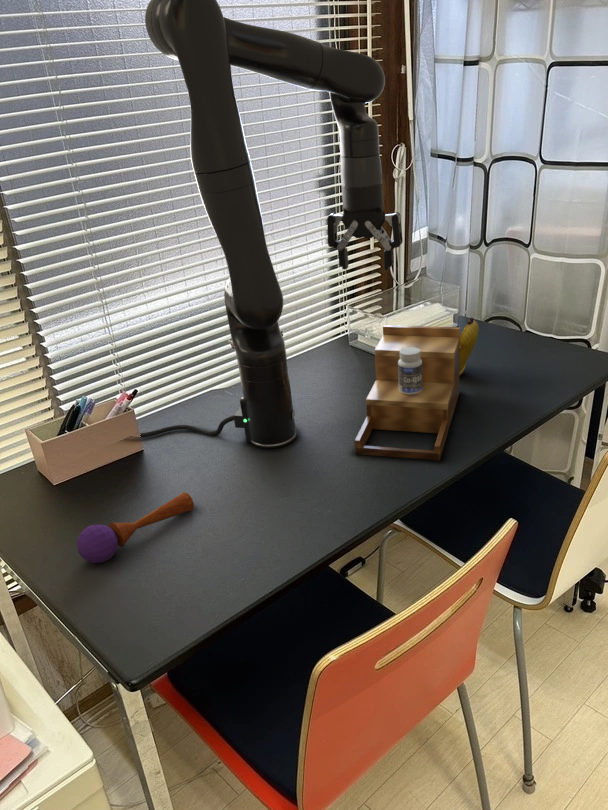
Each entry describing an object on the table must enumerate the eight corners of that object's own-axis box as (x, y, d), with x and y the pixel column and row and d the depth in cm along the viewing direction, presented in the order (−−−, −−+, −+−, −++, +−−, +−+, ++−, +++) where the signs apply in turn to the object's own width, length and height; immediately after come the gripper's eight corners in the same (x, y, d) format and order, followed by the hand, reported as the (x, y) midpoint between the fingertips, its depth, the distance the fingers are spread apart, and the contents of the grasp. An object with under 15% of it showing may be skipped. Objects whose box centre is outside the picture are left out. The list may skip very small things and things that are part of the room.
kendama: (198, 496, 118) (88, 548, 105) (198, 523, 121) (92, 576, 108) (177, 478, 121) (67, 527, 108) (177, 505, 124) (71, 555, 111)
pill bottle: (403, 397, 138) (402, 357, 133) (395, 387, 142) (394, 348, 137) (426, 392, 139) (425, 353, 134) (417, 383, 143) (417, 344, 138)
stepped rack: (355, 454, 134) (350, 382, 126) (386, 389, 156) (383, 325, 148) (439, 460, 130) (439, 386, 122) (459, 393, 152) (460, 327, 144)
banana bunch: (486, 377, 158) (489, 312, 150) (461, 388, 154) (462, 323, 146) (449, 363, 166) (449, 301, 158) (424, 373, 162) (423, 310, 154)
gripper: (318, 186, 129) (326, 274, 138) (395, 184, 125) (398, 274, 134) (330, 178, 135) (336, 263, 144) (403, 176, 132) (405, 263, 140)
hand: (366, 268), depth 139 cm, fingers open, 8 cm apart
